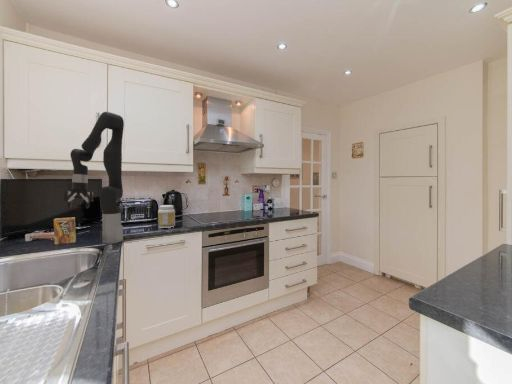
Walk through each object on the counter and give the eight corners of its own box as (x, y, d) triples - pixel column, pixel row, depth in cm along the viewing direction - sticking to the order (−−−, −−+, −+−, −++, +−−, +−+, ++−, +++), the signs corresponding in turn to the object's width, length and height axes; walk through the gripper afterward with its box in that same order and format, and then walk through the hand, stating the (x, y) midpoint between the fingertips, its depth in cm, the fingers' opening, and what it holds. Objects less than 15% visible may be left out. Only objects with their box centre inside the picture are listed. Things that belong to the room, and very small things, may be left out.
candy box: (76, 243, 132) (75, 217, 132) (75, 245, 129) (74, 218, 128) (56, 245, 128) (55, 218, 127) (54, 247, 124) (53, 219, 123)
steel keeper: (18, 241, 130) (17, 234, 130) (37, 237, 140) (37, 230, 140) (34, 242, 129) (34, 235, 129) (52, 237, 140) (52, 230, 140)
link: (29, 238, 137) (29, 233, 137) (37, 236, 142) (37, 231, 141) (63, 239, 135) (63, 234, 135) (70, 237, 140) (70, 232, 140)
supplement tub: (159, 226, 182) (159, 205, 181) (175, 225, 185) (175, 204, 184) (157, 229, 170) (156, 206, 169) (174, 228, 174) (174, 206, 173)
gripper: (95, 182, 147) (94, 208, 147) (68, 181, 142) (66, 207, 142) (91, 182, 140) (90, 209, 140) (63, 181, 135) (61, 208, 135)
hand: (78, 208), depth 141 cm, fingers open, 8 cm apart
